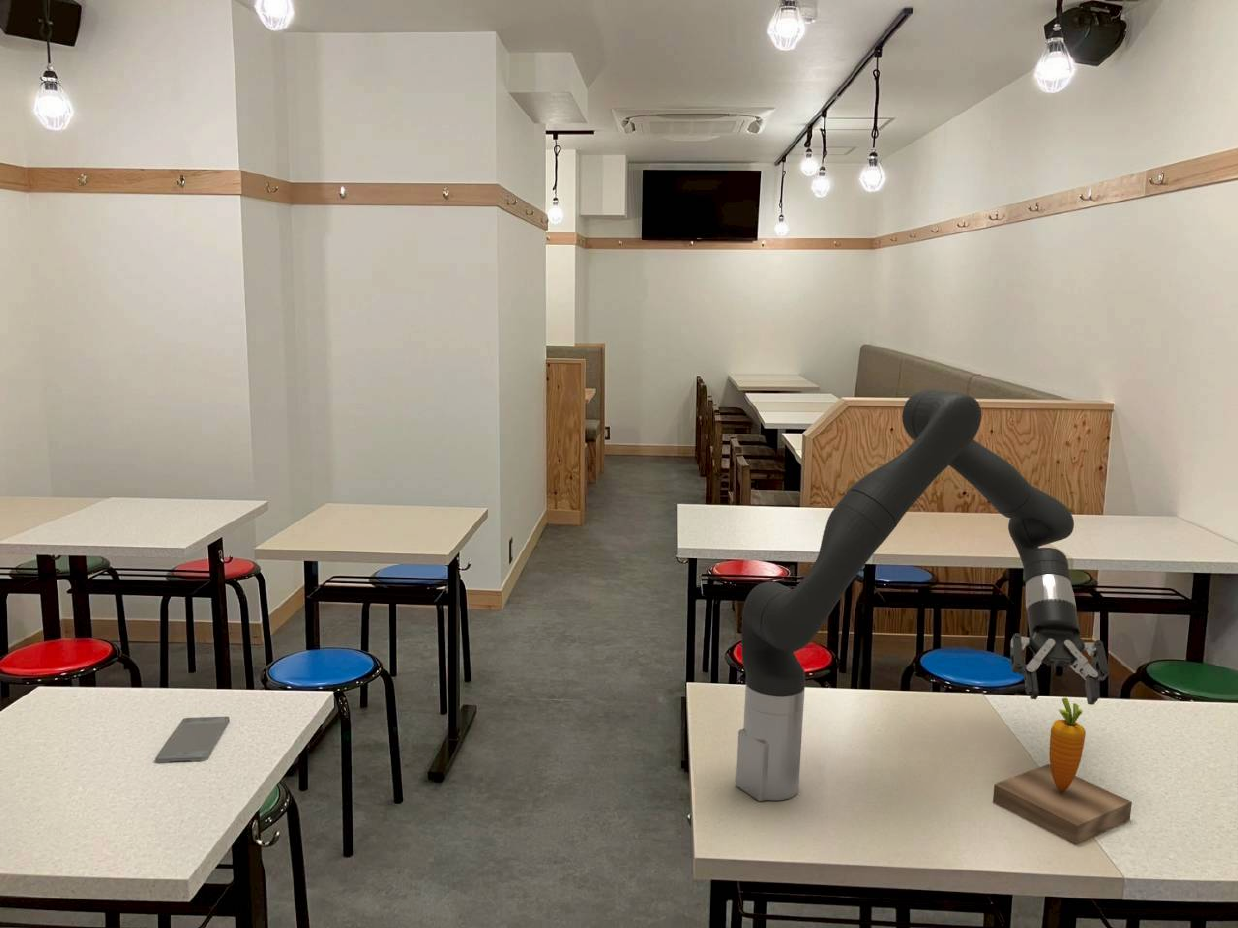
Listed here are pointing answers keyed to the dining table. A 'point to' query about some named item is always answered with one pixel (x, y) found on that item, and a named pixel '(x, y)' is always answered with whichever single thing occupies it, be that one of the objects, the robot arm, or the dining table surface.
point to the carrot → (1066, 746)
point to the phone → (193, 739)
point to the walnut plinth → (1062, 804)
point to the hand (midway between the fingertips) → (1063, 699)
